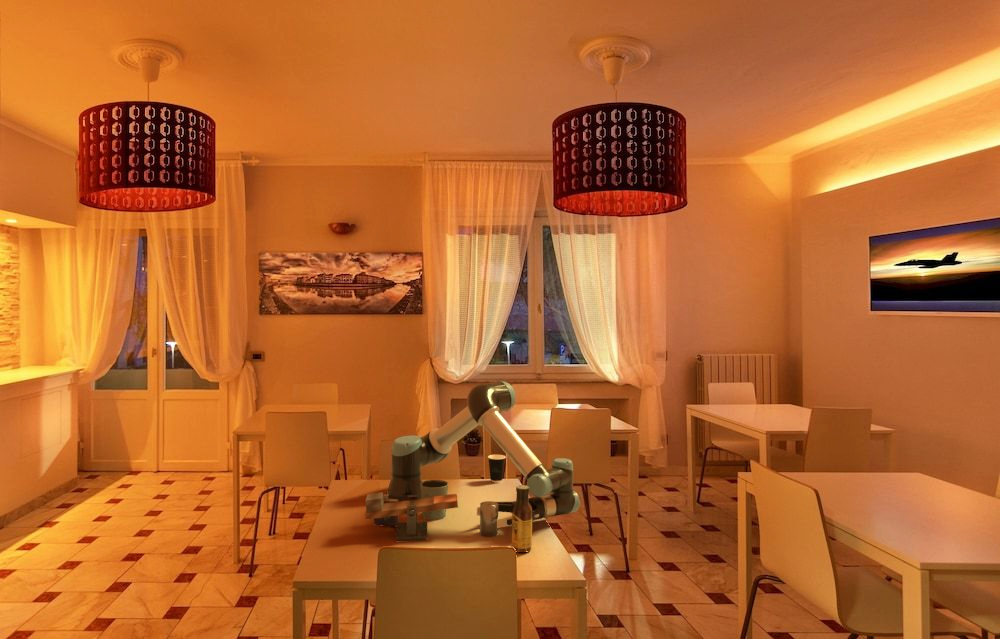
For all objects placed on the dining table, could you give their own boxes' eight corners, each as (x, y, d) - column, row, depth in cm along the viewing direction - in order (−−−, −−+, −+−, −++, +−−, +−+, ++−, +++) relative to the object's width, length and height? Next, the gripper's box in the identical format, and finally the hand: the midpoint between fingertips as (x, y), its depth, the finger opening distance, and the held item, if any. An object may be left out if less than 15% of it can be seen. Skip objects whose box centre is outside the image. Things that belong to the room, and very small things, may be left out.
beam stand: (395, 541, 192) (395, 507, 192) (398, 526, 206) (398, 494, 206) (426, 540, 193) (427, 506, 193) (427, 525, 207) (427, 494, 207)
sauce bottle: (510, 546, 189) (511, 483, 189) (530, 546, 189) (530, 483, 189) (512, 554, 182) (513, 489, 182) (533, 554, 183) (533, 489, 183)
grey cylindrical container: (436, 510, 224) (436, 478, 224) (454, 516, 217) (454, 483, 217) (414, 516, 217) (414, 483, 217) (431, 523, 210) (432, 488, 210)
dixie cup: (491, 484, 259) (492, 459, 259) (484, 480, 266) (484, 455, 266) (508, 482, 262) (508, 457, 262) (500, 478, 269) (501, 453, 269)
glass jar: (476, 535, 199) (476, 504, 199) (485, 529, 204) (486, 500, 204) (492, 538, 196) (492, 507, 196) (501, 532, 201) (501, 503, 201)
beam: (365, 520, 194) (363, 501, 193) (368, 511, 202) (366, 493, 202) (458, 508, 197) (456, 489, 197) (457, 500, 205) (455, 482, 205)
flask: (399, 525, 208) (399, 494, 208) (396, 527, 205) (396, 496, 205) (375, 522, 210) (375, 491, 210) (371, 525, 207) (371, 494, 207)
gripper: (561, 529, 199) (506, 540, 188) (520, 508, 221) (469, 517, 210) (561, 506, 199) (506, 516, 188) (520, 487, 221) (469, 496, 210)
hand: (487, 517), depth 199 cm, fingers open, 13 cm apart
